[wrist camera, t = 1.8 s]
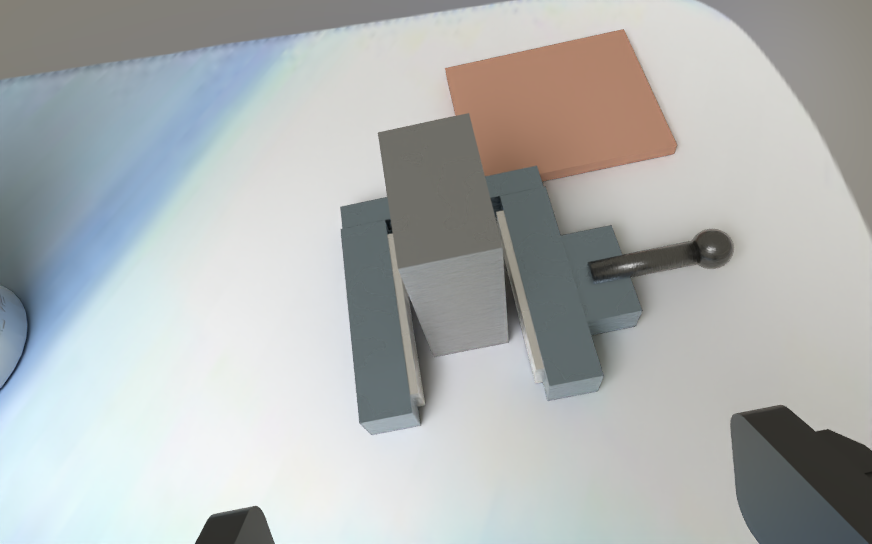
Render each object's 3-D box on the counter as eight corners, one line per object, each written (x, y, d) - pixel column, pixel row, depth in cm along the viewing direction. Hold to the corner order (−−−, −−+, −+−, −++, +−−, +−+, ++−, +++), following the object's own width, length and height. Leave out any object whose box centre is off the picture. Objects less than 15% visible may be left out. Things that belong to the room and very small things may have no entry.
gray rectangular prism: (433, 357, 31) (398, 268, 22) (415, 247, 34) (377, 132, 25) (508, 342, 31) (502, 247, 22) (483, 233, 34) (468, 113, 25)
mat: (474, 195, 35) (473, 187, 35) (446, 77, 40) (445, 68, 39) (674, 153, 35) (677, 145, 34) (621, 39, 40) (623, 29, 39)
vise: (371, 434, 29) (356, 420, 27) (349, 225, 35) (335, 196, 33) (762, 359, 29) (786, 336, 26) (671, 157, 35) (684, 123, 32)
